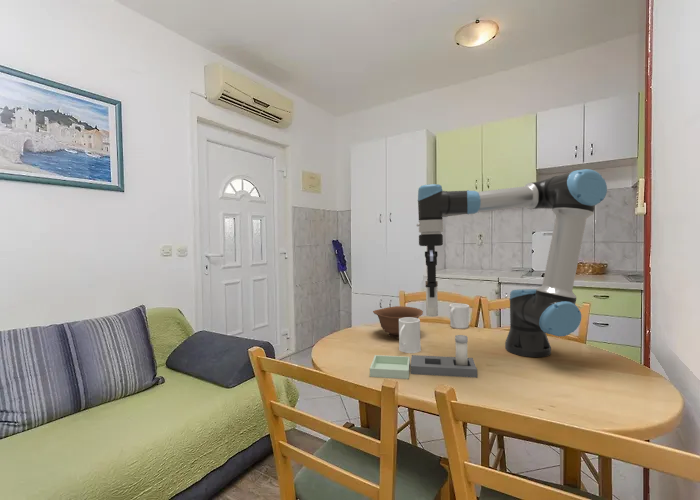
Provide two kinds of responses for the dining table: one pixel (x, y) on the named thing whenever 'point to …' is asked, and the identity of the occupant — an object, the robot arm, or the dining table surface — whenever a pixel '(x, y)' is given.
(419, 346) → the mug
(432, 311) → the cylinder
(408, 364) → the tray
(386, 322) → the bowl
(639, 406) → the dining table surface
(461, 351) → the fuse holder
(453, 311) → the mug
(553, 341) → the dining table surface
